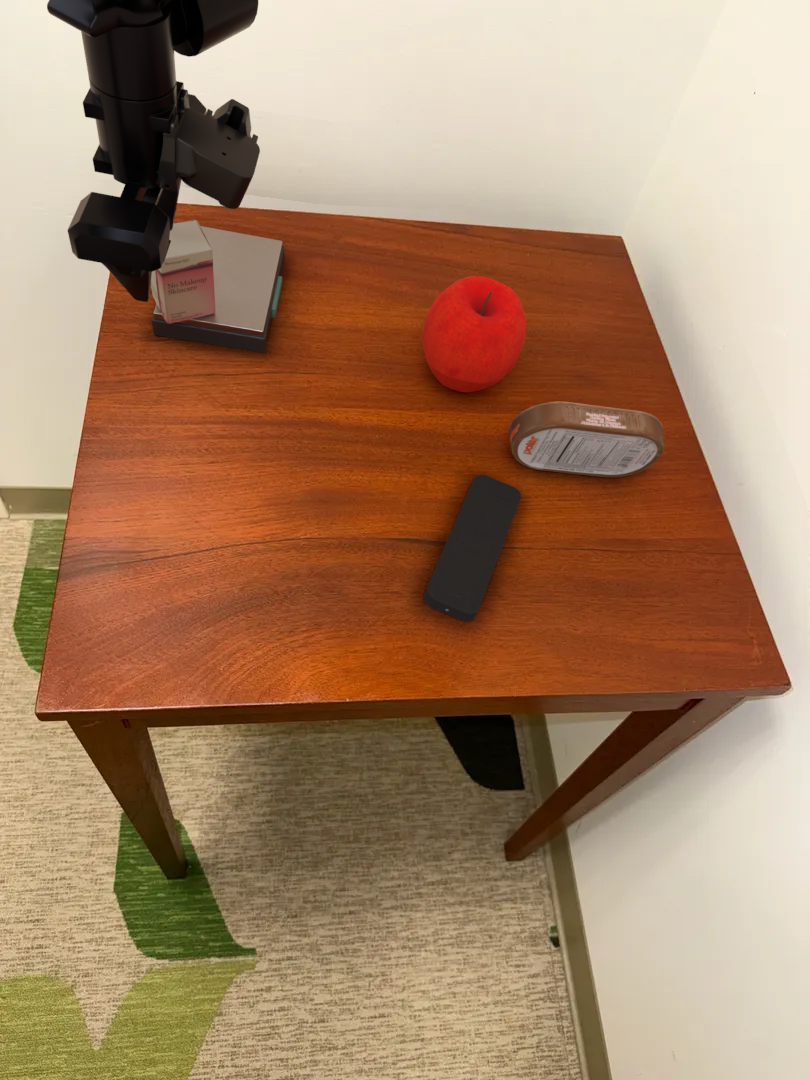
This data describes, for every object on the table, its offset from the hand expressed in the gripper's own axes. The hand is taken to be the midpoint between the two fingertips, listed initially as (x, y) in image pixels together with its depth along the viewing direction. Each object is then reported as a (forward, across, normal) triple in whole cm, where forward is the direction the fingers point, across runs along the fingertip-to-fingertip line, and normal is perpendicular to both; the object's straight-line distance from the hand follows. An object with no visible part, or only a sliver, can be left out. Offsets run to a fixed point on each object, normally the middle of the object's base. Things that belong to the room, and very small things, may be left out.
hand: (154, 263), depth 65 cm
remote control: (+12, -17, -31) cm, 37 cm away
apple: (+11, +3, -29) cm, 32 cm away
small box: (+9, +5, -1) cm, 10 cm away
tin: (+11, -6, -41) cm, 43 cm away
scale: (+11, +10, -4) cm, 15 cm away
